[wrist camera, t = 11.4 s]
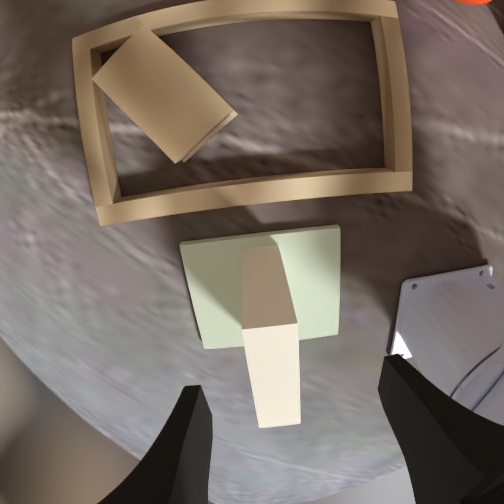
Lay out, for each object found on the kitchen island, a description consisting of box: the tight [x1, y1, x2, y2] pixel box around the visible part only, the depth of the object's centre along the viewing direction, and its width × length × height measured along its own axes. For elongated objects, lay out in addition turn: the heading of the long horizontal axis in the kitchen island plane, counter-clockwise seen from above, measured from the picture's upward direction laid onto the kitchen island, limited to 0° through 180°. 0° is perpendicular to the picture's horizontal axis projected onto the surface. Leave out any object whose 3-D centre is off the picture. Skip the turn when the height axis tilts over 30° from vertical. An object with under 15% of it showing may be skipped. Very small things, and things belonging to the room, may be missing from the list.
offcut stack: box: [92, 24, 238, 163], centre depth 15 cm, size 4×7×4 cm, turn 42°
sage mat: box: [179, 224, 340, 349], centre depth 21 cm, size 10×8×1 cm
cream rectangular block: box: [242, 245, 300, 428], centre depth 17 cm, size 2×7×8 cm, turn 7°
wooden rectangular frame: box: [72, 0, 412, 226], centre depth 16 cm, size 19×12×2 cm, turn 96°
